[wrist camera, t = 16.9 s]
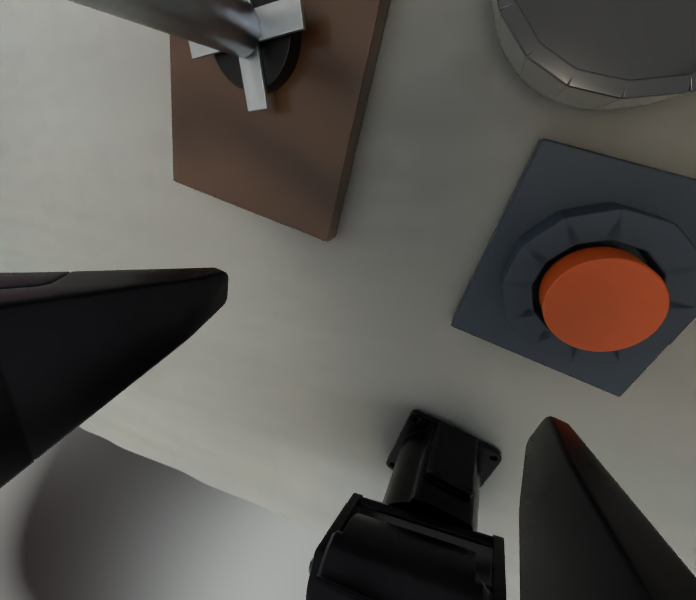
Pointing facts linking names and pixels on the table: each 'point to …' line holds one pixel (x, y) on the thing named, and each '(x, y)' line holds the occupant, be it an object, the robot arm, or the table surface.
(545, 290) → the button
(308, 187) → the cutting board
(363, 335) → the table surface
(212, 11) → the blade
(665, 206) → the button block
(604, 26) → the dark fan housing
